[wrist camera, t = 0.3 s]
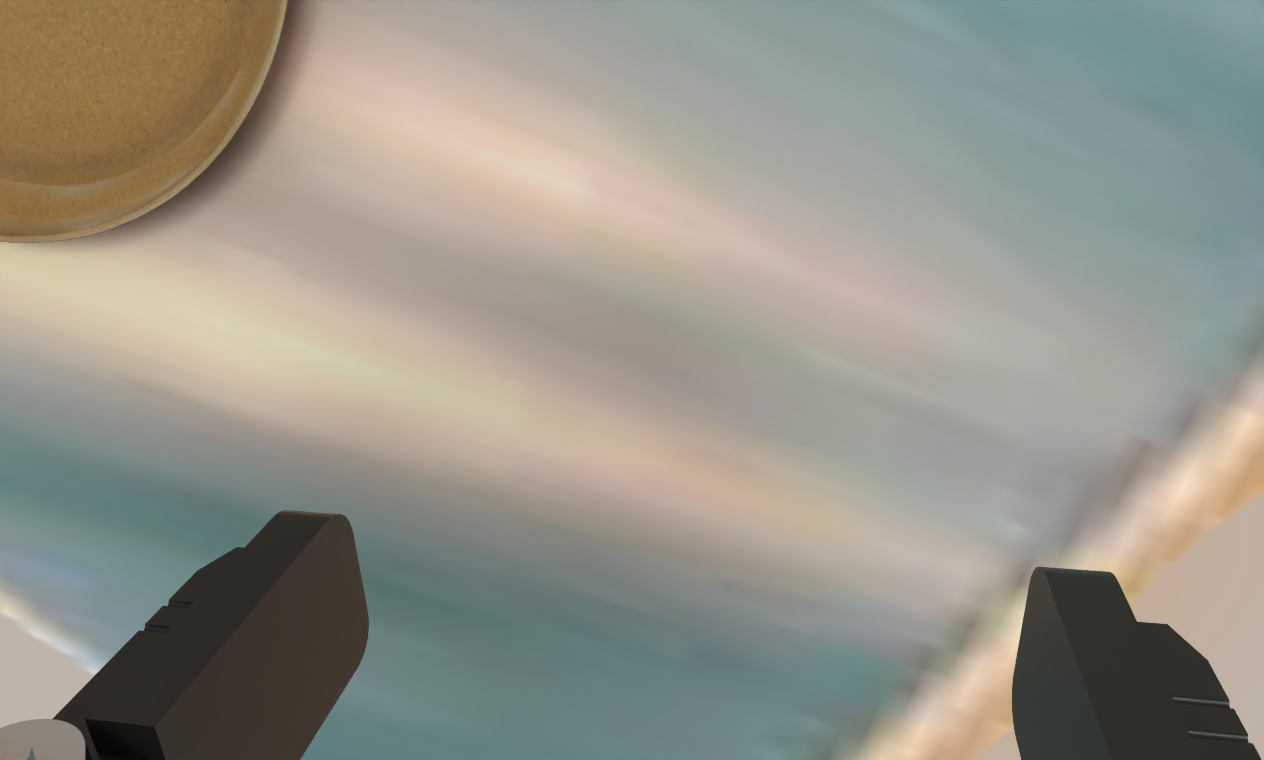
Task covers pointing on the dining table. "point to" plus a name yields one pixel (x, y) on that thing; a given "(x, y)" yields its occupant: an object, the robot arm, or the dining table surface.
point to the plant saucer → (120, 104)
